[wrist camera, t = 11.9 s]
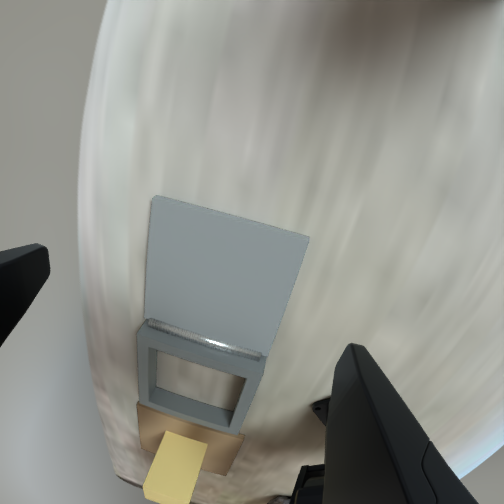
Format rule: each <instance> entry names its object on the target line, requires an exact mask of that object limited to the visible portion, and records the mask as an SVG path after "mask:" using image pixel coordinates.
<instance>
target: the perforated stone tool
mask: <svg viewBox="0 0 504 504" xmlns="http://www.w3.org/2000/svg"><path fill="white" fill-rule="evenodd" d="M289 502H290V499H288V497H278V498H276V499H273V500H271V501H270V502H268V503H267V504H289Z"/></svg>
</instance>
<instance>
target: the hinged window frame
mask: <svg viewBox="0 0 504 504" xmlns="http://www.w3.org/2000/svg"><path fill="white" fill-rule="evenodd" d="M308 243H309V237H308V236H304V235H301V234H297V233H294V232H290V231H287V230H283V229H280V228H276V227H273V226H269V225H266V224H262V223H259V222H255V221H252V220H248V219H244V218H241V217H237V216H233V215H230V214H226V213H222V212H219V211H215V210H211V209H208V208H204V207H200V206H196V205H193V204H189V203H185V202H181V201H177V200H173V199H170V198H166V197H162V196H158V195H156V196H154V197H153V198H152V206H151V216H150V227H149V239H148V252H147V267H146V286H145V312H144V318H146V321H145V322H144V324H143V325H142V327H141V328H140V330H139V331H138V333H137V363H138V386H139V403H140V404H143V405H145V406H148V407H151V408H153V409H156V410H159V411H161V412H164V413H167V414H170V415H172V416H175V417H178V418H181V419H184V420H187V421H190V422H193V423H196V424H200V425H203V426H206V427H209V428H213V429H216V430H220V431H223V432H227V433H230V434H234V435H238V433H239V431H240V428H241V426H242V424H243V421H244V419H245V417H246V414H247V412H248V410H249V407H250V405H251V403H252V400H253V398H254V395H255V393H256V390H257V388H258V386H259V383H260V381H261V378H262V376H263V373H264V368H265V363H266V358H267V357H268V354H269V351H270V349H271V346H272V344H273V341H274V338H275V336H276V333H277V330H278V328H279V325H280V322H281V320H282V317H283V314H284V312H285V309H286V306H287V303H288V301H289V298H290V295H291V292H292V289H293V287H294V284H295V281H296V278H297V275H298V272H299V270H300V267H301V264H302V261H303V258H304V255H305V252H306V249H307V246H308ZM157 350H159V351H162V352H165V353H167V354H170V355H173V356H176V357H179V358H182V359H185V360H188V361H191V362H194V363H197V364H200V365H203V366H206V367H210V368H213V369H216V370H219V371H223V372H226V373H230V374H233V375H237V376H240V377H244V378H245V381H244V384H243V387H242V390H241V392H240V395H239V398H238V401H237V404H236V406H235V409H234V412H232V411H228V410H225V409H221V408H218V407H214V406H211V405H208V404H205V403H201V402H198V401H195V400H192V399H189V398H186V397H183V396H180V395H177V394H174V393H172V392H169V391H166V390H163V389H160V388H158V387H156V365H157Z"/></svg>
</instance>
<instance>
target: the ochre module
mask: <svg viewBox="0 0 504 504" xmlns="http://www.w3.org/2000/svg"><path fill="white" fill-rule="evenodd" d="M207 445H208V444H206V443H202V442H199V441H196V440H193V439H190V438H187V437H184V436H181V435H178V434H175V433H172V432H169V431H166V432H165V434H164V437H163V439H162V441H161V444H160V446H159V449H158V451H157V453H156V456H155V458H154V461H153V463H152V465H151V468H150V470H149V472H148V475H147V477H146V480H145V482H144V484H143V491H144V495H145V498H146V499H149V500H152V501H155V502H157V503H160V504H189V503H190V500H191V497H192V494H193V491H194V488H195V484H196V481H197V478H198V475H199V472H200V469H201V466H202V462H203V459H204V456H205V452H206V449H207Z"/></svg>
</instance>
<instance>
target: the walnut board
mask: <svg viewBox="0 0 504 504" xmlns="http://www.w3.org/2000/svg"><path fill="white" fill-rule="evenodd" d="M137 412H138V423H139V433H140V442H141V449H144V450H146V451H149V452H152V453H154V454H156V453H157V451H158V449H159V446H160V444H161V441H162V439H163V437H164V434H165V432H166V431H169V432H172V433H175V434H178V435H181V436H184V437H187V438H190V439H193V440H196V441H199V442H202V443H206V444H208V445H207V449H206V452H205V456H204V459H203V462H202V466H201V469H202V470H205V471H209V472H212V473H216V474H220V475H224V476H226V475H227V473H228V471H229V469H230V467H231V465H232V463H233V461H234V459H235V457H236V455H237V453H238V451H239V449H240V447H241V444H242V442H243V440H244V437H245V435H242V434H238V435H234V434H230V433H227V432H223V431H220V430H216V429H213V428H209V427H206V426H203V425H200V424H196V423H193V422H190V421H187V420H184V419H181V418H178V417H175V416H172V415H170V414H167V413H164V412H161V411H159V410H156V409H153V408H151V407H148V406H145V405H143V404H140V403H139V402H138V404H137Z"/></svg>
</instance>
